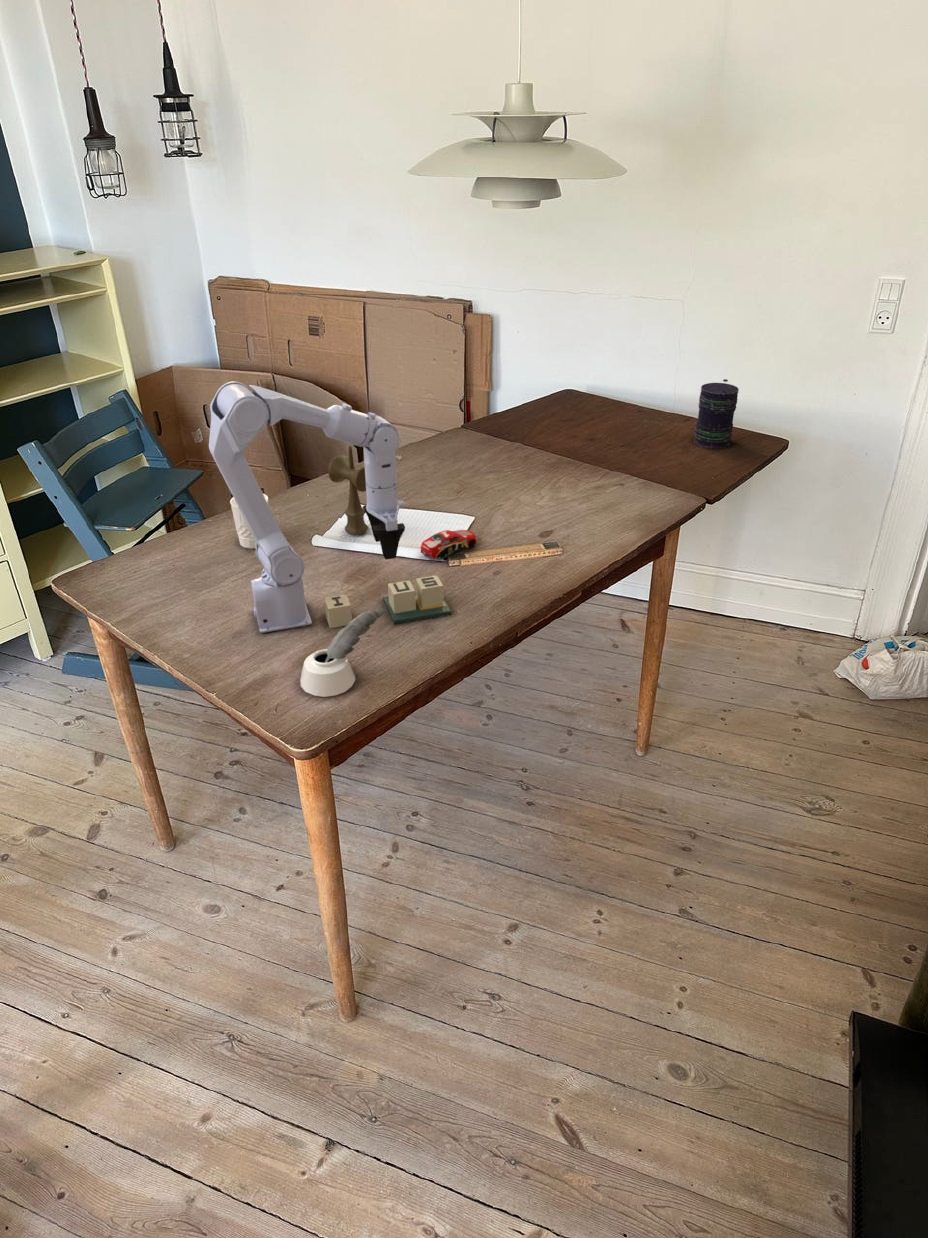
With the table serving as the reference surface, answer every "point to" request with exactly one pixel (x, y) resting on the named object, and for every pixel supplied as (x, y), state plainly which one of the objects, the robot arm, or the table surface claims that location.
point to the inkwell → (336, 659)
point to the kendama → (344, 470)
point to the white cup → (243, 526)
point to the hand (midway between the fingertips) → (385, 549)
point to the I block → (338, 611)
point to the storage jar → (716, 415)
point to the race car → (447, 543)
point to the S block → (429, 591)
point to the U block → (402, 596)
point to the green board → (417, 612)
